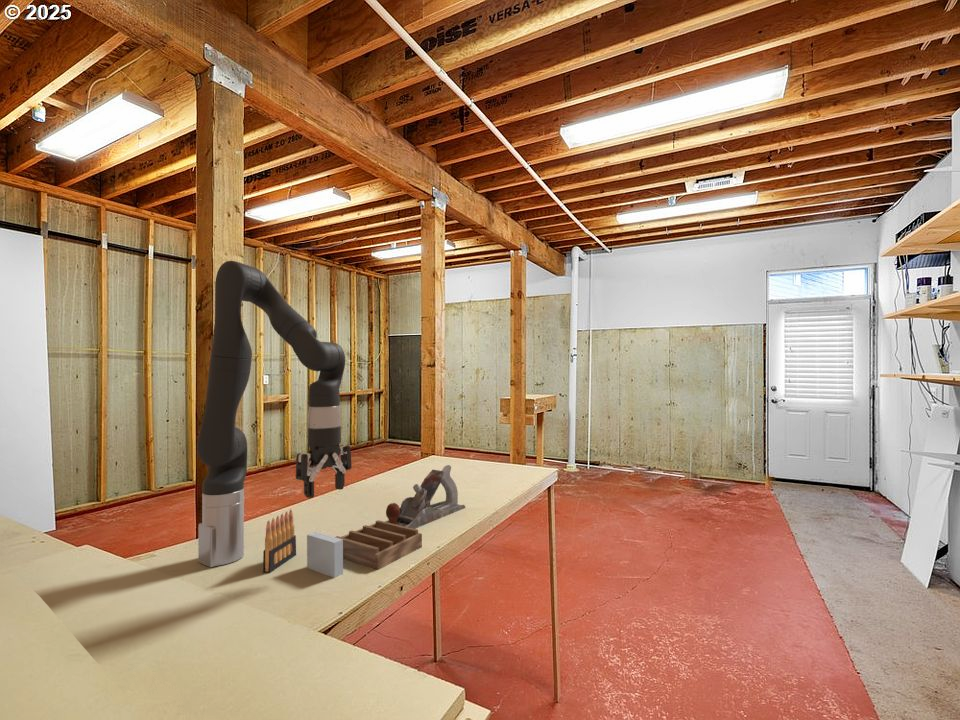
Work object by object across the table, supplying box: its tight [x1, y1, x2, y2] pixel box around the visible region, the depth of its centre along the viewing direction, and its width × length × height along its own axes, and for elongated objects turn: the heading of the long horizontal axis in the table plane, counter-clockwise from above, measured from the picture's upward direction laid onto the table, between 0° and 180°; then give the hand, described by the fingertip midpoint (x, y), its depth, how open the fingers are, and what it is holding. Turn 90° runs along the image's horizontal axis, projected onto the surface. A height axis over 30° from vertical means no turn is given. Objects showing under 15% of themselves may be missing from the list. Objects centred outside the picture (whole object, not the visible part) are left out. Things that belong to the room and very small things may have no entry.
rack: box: [335, 519, 423, 570], centre depth 119 cm, size 16×17×4 cm
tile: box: [306, 531, 344, 579], centre depth 107 cm, size 2×10×8 cm, turn 57°
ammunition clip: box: [262, 508, 297, 574], centre depth 112 cm, size 11×2×12 cm, turn 169°
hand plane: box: [384, 464, 466, 529], centre depth 145 cm, size 9×33×15 cm, turn 144°
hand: (325, 493), depth 108 cm, fingers open, 8 cm apart
